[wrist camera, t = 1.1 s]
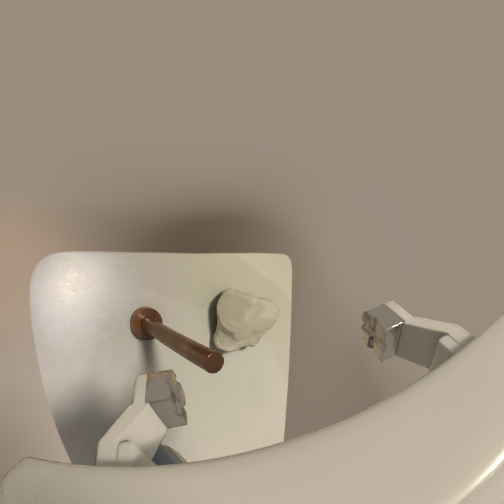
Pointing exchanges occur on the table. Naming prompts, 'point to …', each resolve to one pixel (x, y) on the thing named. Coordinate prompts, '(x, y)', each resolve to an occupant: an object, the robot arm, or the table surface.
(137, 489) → the robot arm
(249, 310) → the decorative stone
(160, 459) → the stir bowl
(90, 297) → the table surface
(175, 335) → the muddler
